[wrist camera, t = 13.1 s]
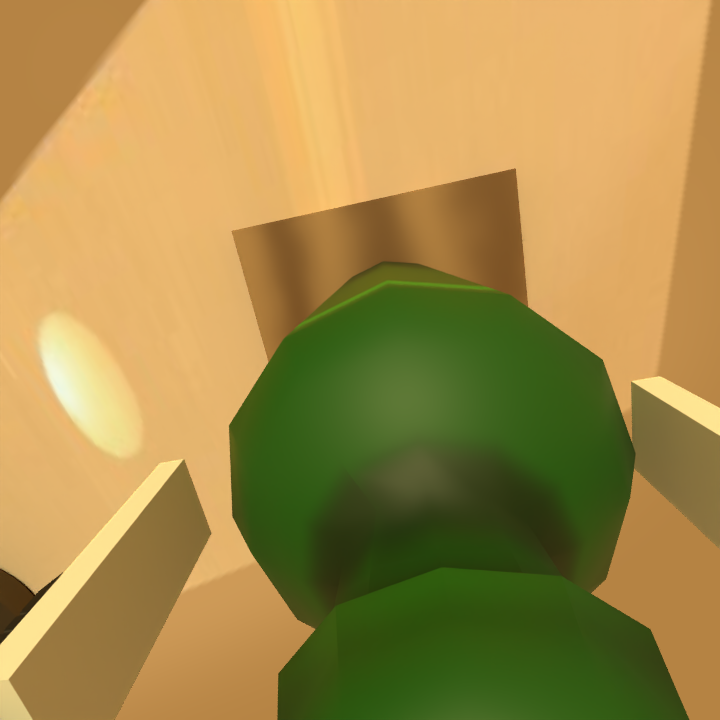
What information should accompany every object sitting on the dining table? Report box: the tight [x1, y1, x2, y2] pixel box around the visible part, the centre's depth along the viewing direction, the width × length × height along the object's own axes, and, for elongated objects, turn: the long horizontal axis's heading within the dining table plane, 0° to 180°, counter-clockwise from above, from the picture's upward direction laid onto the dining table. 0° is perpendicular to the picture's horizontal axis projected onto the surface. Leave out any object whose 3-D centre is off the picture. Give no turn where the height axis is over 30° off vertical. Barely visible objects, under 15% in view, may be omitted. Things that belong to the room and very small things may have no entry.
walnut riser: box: [232, 169, 528, 361], centre depth 31 cm, size 18×16×3 cm
